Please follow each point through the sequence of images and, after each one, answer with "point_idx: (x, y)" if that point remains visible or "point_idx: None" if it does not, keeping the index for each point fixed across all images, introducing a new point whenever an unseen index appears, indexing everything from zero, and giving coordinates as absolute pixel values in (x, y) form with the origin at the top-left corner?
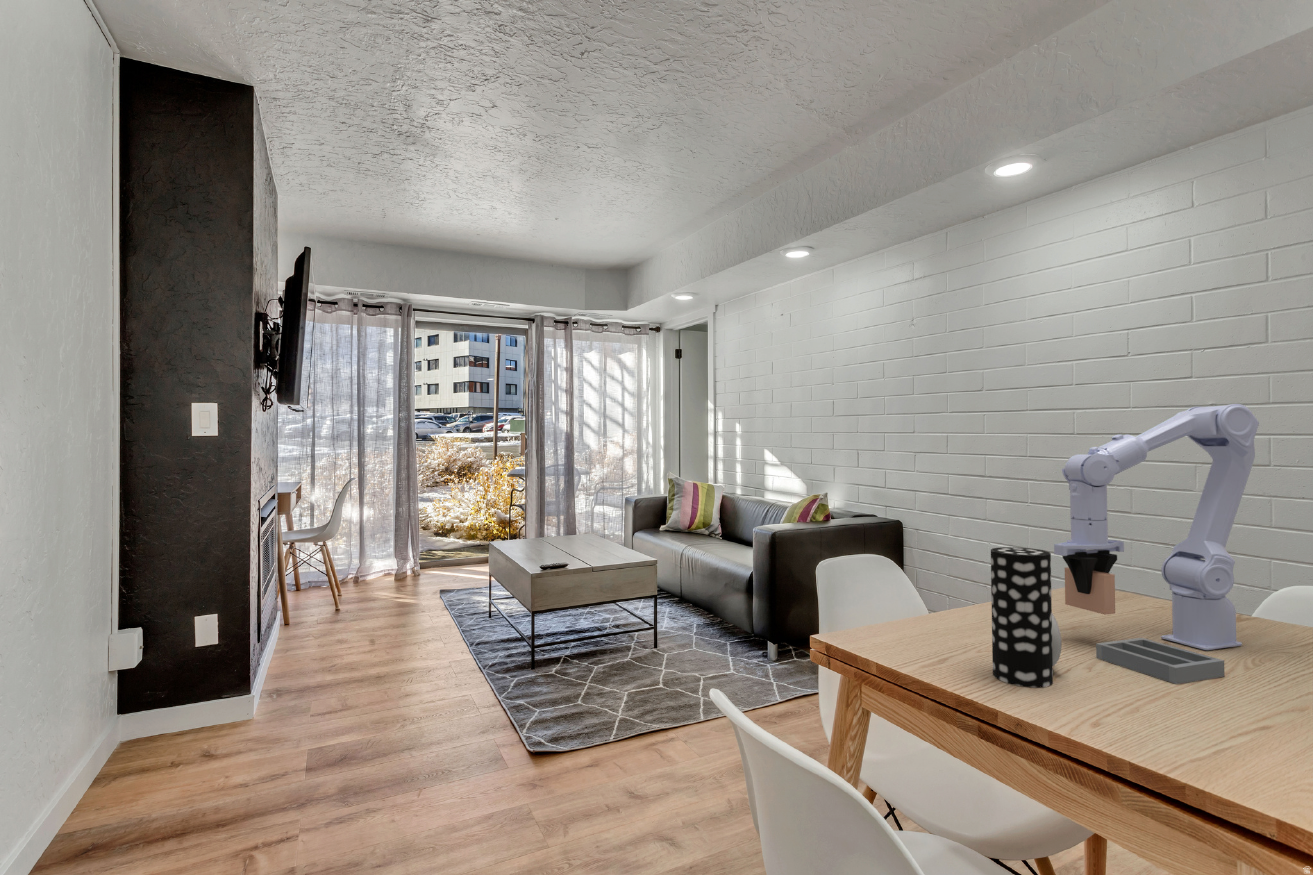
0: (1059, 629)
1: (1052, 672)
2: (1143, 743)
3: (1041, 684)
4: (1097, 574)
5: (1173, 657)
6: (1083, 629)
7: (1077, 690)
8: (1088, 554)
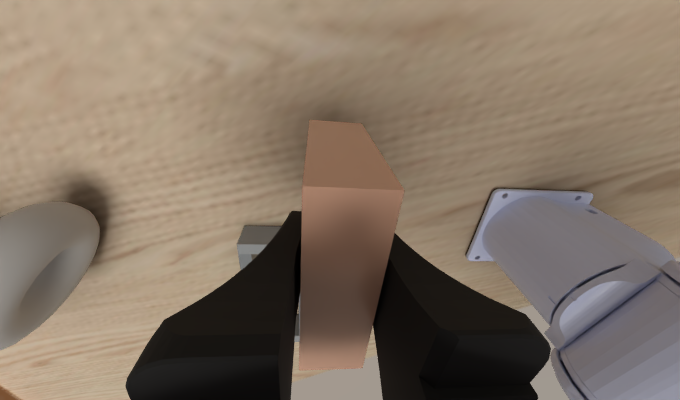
0: (23, 337)
1: None
2: (68, 389)
3: None
4: (300, 349)
5: (299, 318)
6: (437, 56)
7: (86, 306)
8: (429, 367)
